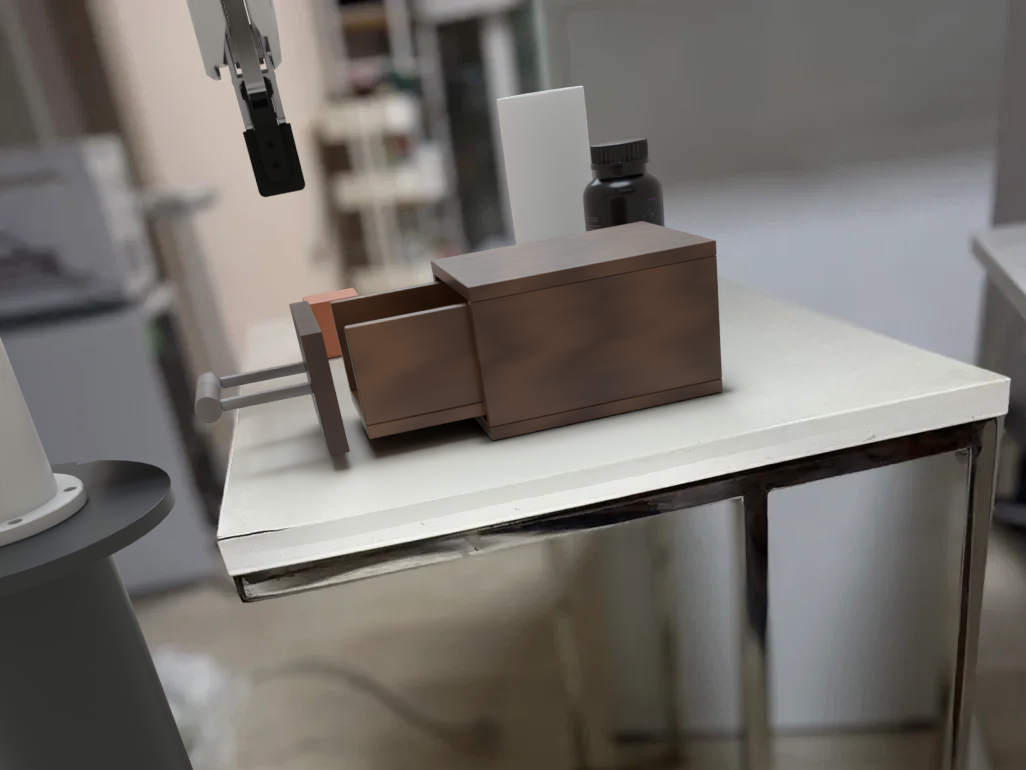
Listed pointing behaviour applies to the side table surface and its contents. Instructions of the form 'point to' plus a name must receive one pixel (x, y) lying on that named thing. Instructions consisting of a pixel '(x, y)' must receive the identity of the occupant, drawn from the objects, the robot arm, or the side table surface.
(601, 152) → the supplement bottle
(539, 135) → the tall white panel
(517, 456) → the side table surface
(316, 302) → the block
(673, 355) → the cabinet
